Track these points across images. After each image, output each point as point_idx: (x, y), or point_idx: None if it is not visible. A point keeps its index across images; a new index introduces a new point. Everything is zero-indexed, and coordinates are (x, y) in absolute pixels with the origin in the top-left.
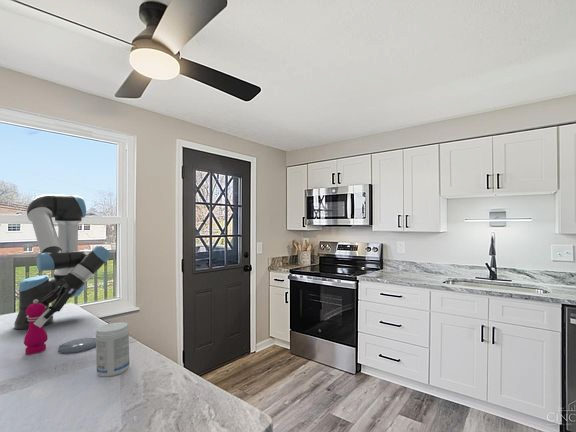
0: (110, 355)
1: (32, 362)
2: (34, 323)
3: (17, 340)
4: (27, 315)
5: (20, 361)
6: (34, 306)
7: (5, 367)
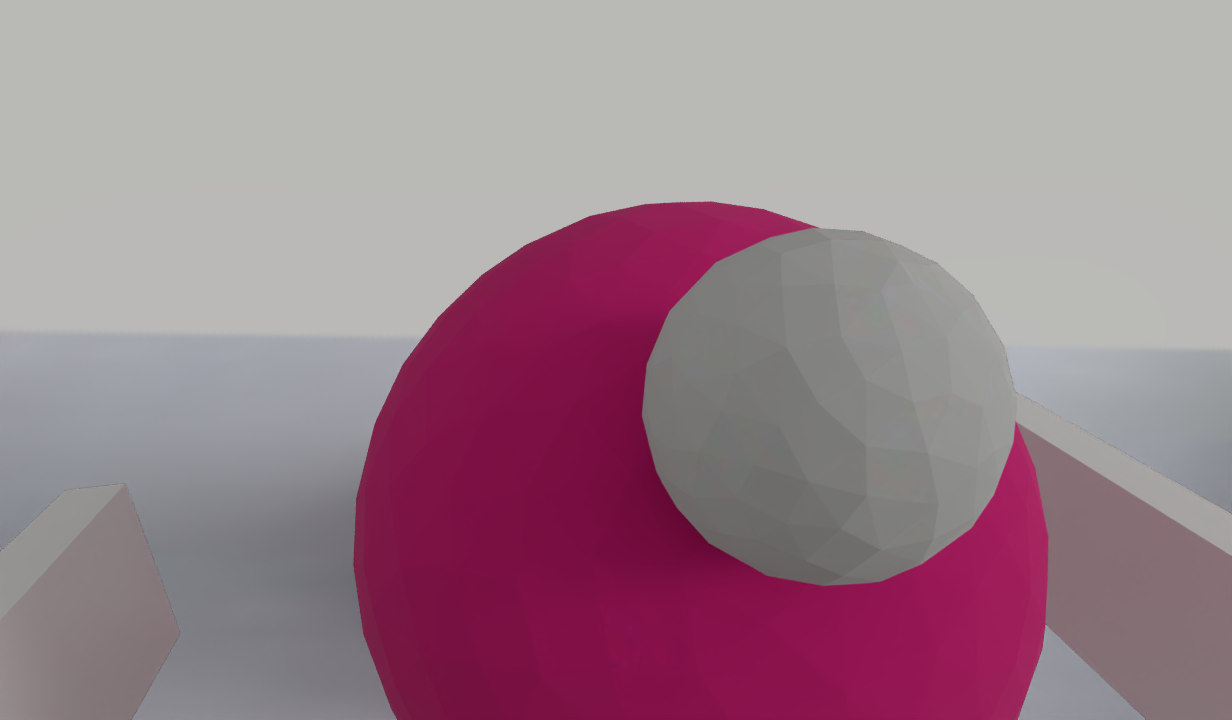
0: None
1: (179, 555)
2: (60, 502)
3: (1123, 447)
4: (1031, 400)
5: (336, 454)
6: (427, 398)
7: (273, 342)
